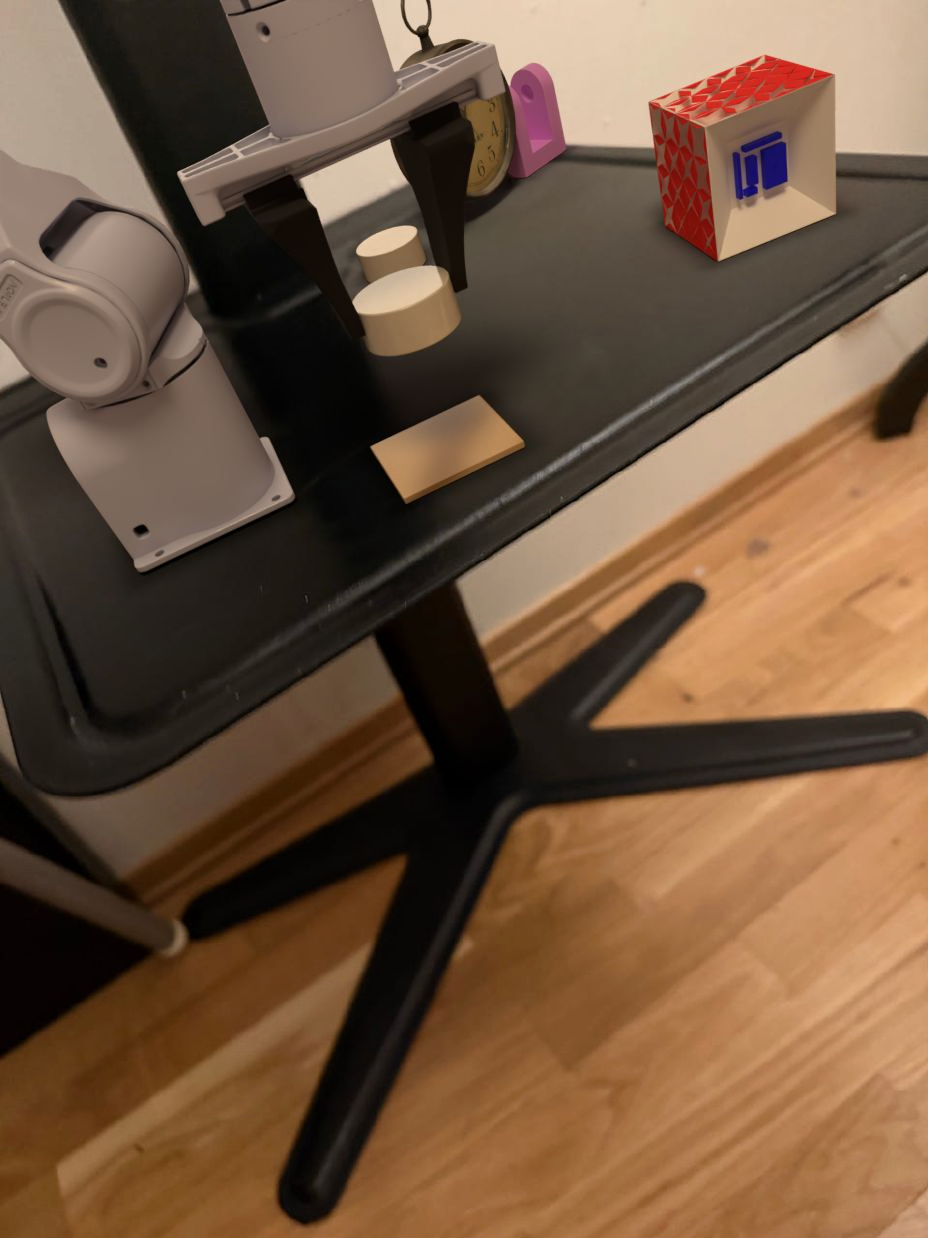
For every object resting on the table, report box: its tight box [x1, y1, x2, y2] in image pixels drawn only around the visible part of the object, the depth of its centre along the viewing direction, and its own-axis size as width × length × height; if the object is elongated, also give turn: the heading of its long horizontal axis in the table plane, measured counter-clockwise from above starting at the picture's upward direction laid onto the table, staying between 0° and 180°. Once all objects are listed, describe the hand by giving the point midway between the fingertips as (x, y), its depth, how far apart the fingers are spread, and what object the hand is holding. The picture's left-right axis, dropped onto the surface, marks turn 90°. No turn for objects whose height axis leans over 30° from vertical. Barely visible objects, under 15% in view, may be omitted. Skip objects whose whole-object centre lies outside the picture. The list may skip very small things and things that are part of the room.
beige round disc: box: [355, 225, 427, 284], centre depth 70 cm, size 5×5×2 cm
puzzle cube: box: [647, 54, 837, 262], centre depth 56 cm, size 8×8×8 cm
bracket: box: [508, 62, 567, 179], centre depth 79 cm, size 13×6×7 cm, turn 46°
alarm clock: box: [389, 0, 516, 202], centre depth 70 cm, size 11×5×16 cm, turn 142°
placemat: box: [369, 394, 526, 505], centre depth 49 cm, size 7×6×1 cm
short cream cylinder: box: [351, 265, 462, 357], centre depth 44 cm, size 5×5×2 cm
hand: (405, 307), depth 44 cm, fingers closed on short cream cylinder, 5 cm apart
